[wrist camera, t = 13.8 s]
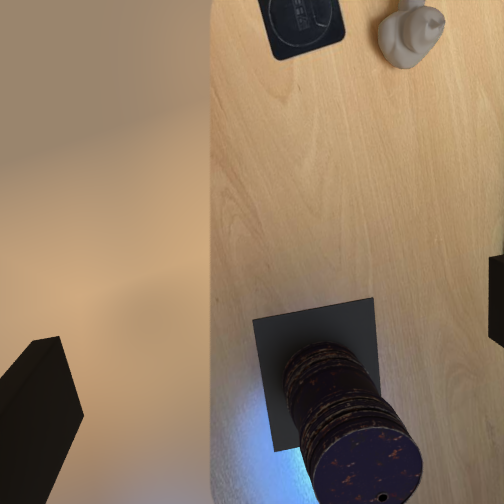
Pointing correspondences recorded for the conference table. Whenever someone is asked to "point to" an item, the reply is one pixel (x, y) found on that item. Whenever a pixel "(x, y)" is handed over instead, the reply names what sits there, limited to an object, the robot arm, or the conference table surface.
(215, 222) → the conference table surface
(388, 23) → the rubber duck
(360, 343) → the mat
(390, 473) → the rusty barrel
